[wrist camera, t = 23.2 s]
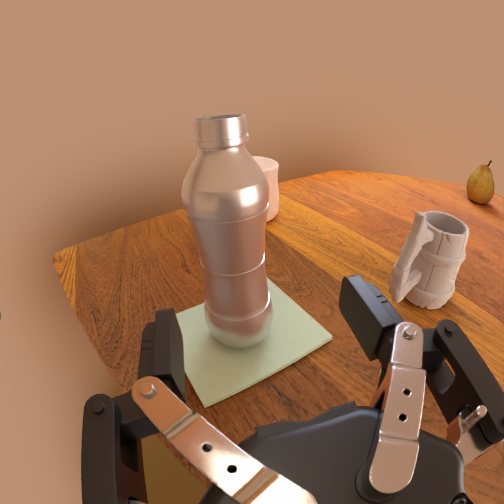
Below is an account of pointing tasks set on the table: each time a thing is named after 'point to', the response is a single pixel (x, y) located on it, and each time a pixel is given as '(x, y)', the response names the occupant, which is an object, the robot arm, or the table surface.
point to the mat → (246, 349)
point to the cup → (270, 183)
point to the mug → (430, 260)
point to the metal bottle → (229, 230)
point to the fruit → (481, 185)
